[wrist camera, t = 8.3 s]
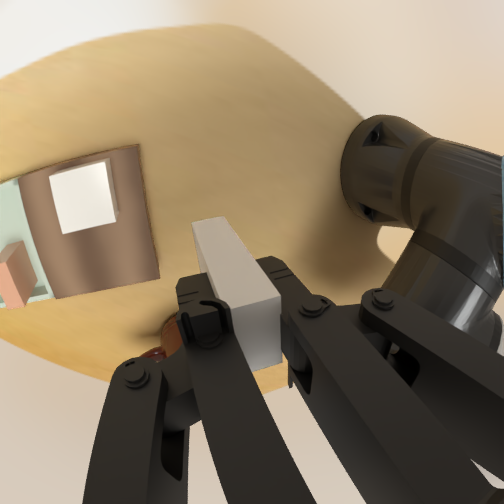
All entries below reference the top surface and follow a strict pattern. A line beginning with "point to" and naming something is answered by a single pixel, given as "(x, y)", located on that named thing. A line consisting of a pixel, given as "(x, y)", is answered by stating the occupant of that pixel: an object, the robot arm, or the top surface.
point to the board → (93, 230)
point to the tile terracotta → (16, 275)
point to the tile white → (84, 196)
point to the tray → (20, 235)
